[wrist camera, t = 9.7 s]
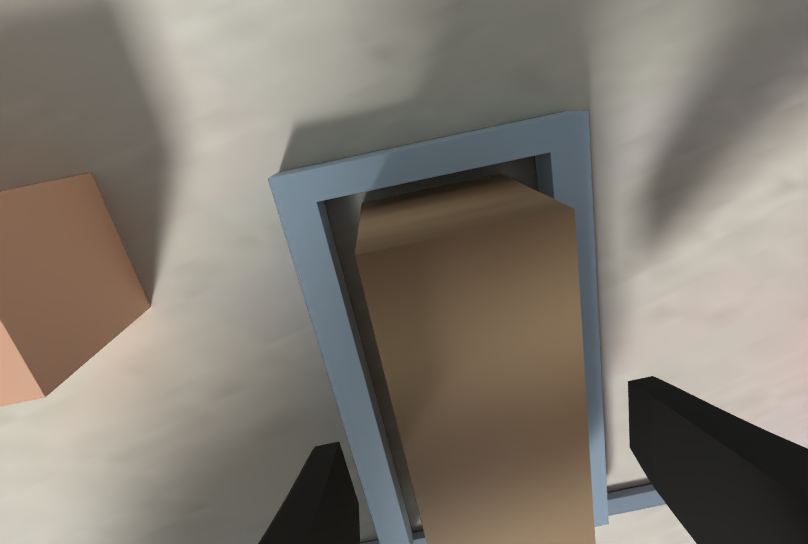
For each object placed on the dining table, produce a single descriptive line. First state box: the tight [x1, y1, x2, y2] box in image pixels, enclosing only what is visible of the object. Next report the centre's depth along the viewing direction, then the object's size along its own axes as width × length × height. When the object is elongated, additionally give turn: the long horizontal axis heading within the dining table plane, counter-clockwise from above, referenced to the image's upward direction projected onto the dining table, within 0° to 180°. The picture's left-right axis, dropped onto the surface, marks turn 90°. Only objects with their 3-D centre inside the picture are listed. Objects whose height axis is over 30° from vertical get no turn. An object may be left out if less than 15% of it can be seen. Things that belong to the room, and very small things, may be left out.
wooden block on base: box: [354, 174, 595, 544], centre depth 12 cm, size 11×4×5 cm, turn 11°
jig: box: [268, 110, 666, 544], centre depth 14 cm, size 15×14×1 cm
